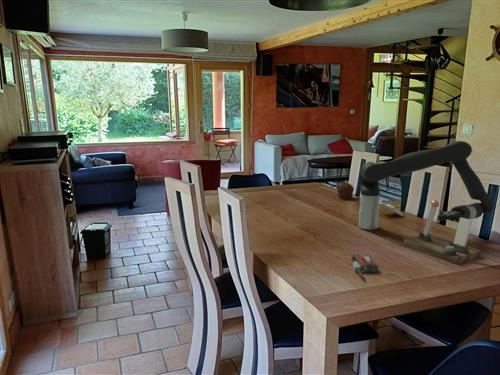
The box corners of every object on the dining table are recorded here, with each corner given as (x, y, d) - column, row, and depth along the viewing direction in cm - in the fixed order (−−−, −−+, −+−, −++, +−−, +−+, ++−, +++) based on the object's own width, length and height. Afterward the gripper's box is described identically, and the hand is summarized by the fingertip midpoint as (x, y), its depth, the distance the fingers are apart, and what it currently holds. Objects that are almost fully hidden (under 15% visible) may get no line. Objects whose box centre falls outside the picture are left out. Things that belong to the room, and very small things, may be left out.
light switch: (404, 213, 219) (382, 201, 218) (399, 222, 220) (376, 210, 220) (400, 210, 227) (378, 198, 227) (394, 218, 229) (372, 207, 228)
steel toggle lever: (423, 236, 176) (435, 200, 175) (430, 238, 173) (441, 202, 173) (419, 234, 174) (430, 198, 174) (425, 236, 172) (437, 200, 171)
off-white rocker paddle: (454, 245, 162) (461, 217, 161) (464, 249, 158) (472, 220, 157) (452, 245, 162) (460, 217, 161) (462, 248, 158) (470, 219, 157)
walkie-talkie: (346, 260, 159) (360, 281, 140) (347, 250, 158) (360, 270, 139) (368, 260, 159) (385, 281, 140) (369, 249, 158) (385, 269, 139)
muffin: (355, 199, 261) (356, 185, 259) (338, 199, 261) (339, 185, 259) (351, 195, 273) (351, 181, 271) (335, 196, 273) (335, 181, 271)
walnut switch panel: (427, 239, 182) (428, 228, 181) (480, 256, 161) (481, 244, 160) (403, 245, 175) (404, 234, 174) (455, 264, 153) (456, 251, 152)
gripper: (451, 202, 189) (427, 207, 181) (478, 208, 178) (453, 213, 170) (449, 217, 191) (425, 222, 183) (476, 224, 180) (451, 230, 172)
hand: (439, 218), depth 176 cm, fingers closed
